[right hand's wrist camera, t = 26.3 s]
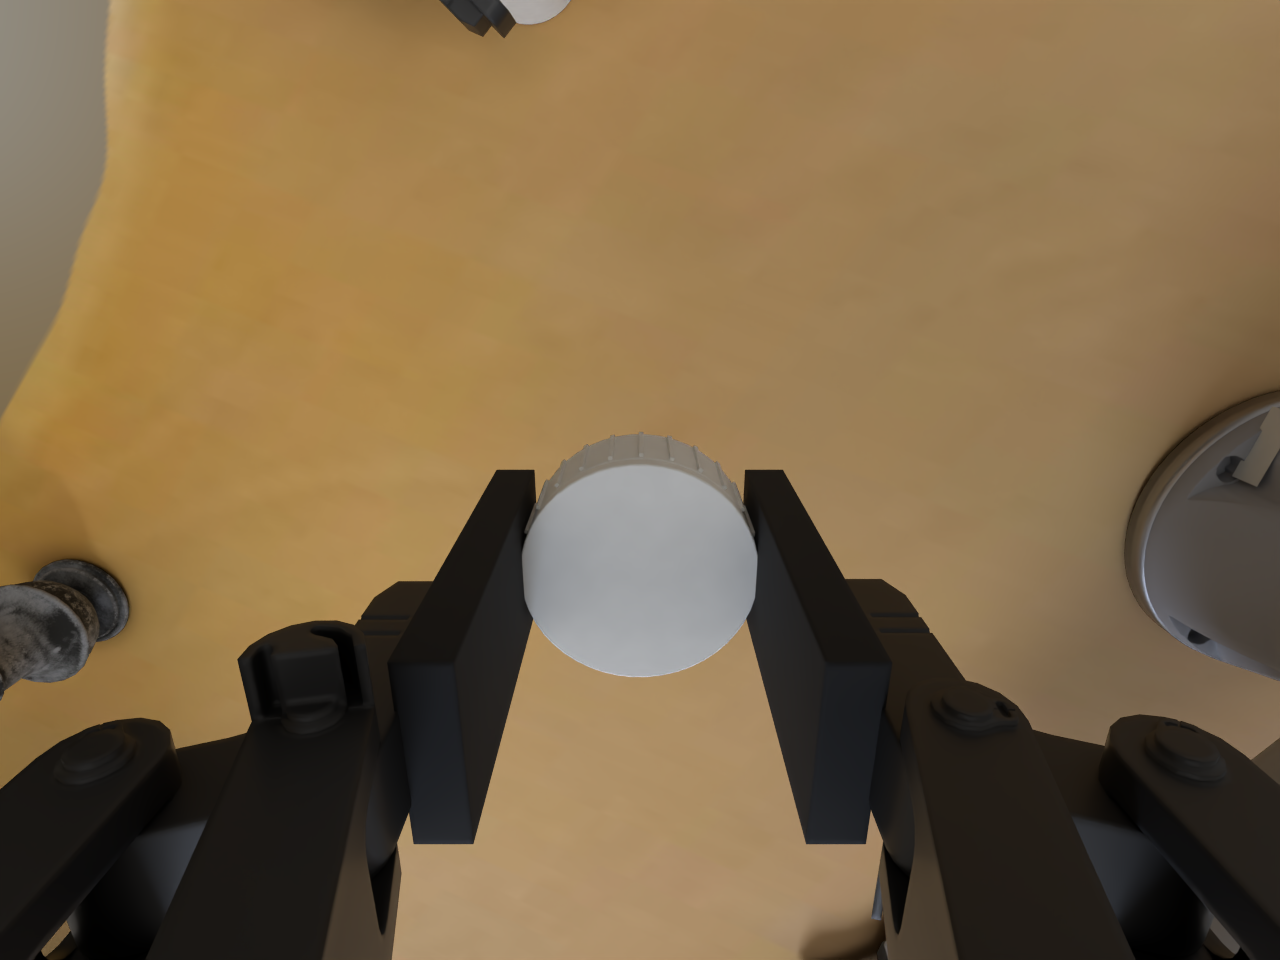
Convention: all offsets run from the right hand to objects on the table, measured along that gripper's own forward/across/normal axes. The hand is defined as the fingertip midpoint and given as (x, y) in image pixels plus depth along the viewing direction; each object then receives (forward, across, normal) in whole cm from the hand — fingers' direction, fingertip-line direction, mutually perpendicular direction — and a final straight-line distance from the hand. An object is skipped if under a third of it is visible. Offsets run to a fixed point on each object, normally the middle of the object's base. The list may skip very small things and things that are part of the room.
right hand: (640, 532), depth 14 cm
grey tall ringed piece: (+22, +32, +14) cm, 41 cm away
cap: (-2, 0, 0) cm, 2 cm away
